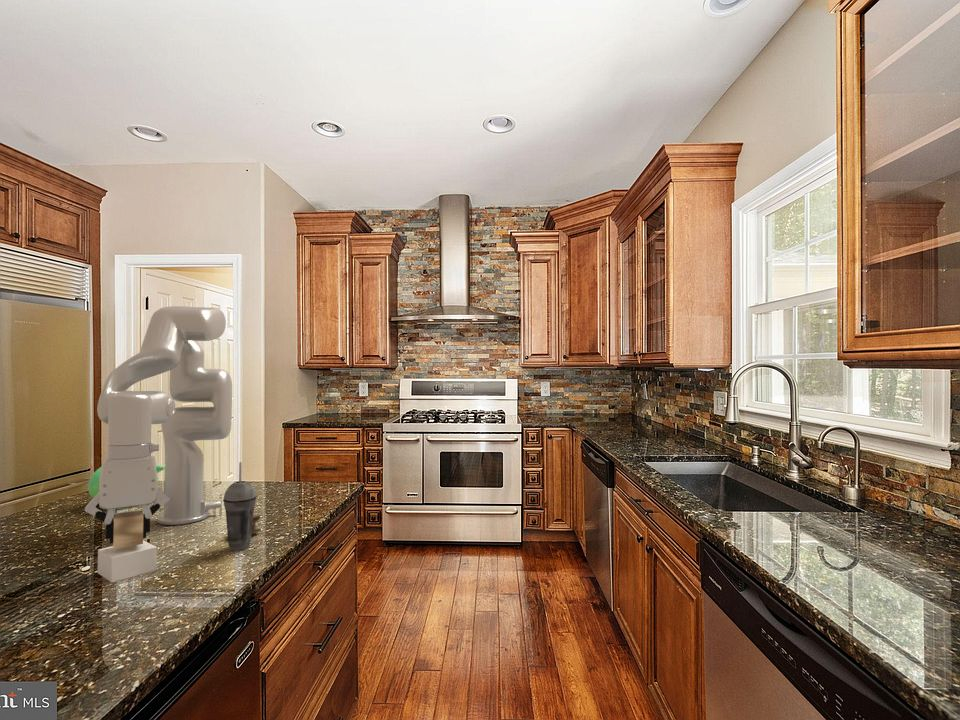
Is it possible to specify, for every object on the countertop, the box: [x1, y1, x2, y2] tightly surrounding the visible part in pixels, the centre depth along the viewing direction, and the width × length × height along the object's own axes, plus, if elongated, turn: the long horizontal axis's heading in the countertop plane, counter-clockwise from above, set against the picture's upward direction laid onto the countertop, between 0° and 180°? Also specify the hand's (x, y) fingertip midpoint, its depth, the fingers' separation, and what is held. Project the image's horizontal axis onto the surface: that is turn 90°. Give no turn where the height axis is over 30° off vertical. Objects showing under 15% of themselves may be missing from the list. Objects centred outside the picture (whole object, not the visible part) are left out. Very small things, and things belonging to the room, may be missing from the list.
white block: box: [97, 539, 158, 583], centre depth 106 cm, size 8×8×5 cm
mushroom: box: [251, 512, 261, 536], centre depth 129 cm, size 8×8×6 cm
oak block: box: [112, 509, 144, 549], centre depth 106 cm, size 5×5×6 cm
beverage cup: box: [222, 461, 258, 551], centre depth 121 cm, size 7×7×20 cm
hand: (128, 538), depth 106 cm, fingers closed on oak block, 4 cm apart
